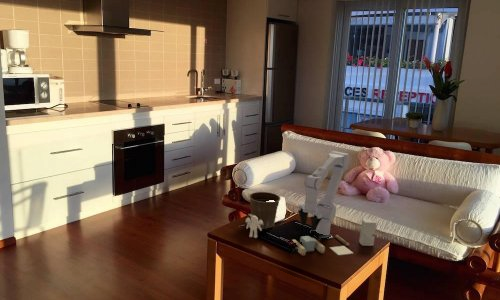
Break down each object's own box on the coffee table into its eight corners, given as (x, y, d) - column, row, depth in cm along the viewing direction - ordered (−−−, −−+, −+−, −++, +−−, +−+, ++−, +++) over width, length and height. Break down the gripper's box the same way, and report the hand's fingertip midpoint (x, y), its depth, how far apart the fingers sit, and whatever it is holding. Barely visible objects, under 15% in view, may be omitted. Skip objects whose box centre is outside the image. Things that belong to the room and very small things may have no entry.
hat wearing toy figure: (243, 236, 220) (245, 213, 217) (245, 233, 223) (247, 211, 221) (261, 239, 217) (262, 216, 215) (263, 236, 221) (264, 213, 218)
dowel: (334, 237, 226) (334, 234, 225) (336, 237, 226) (337, 234, 226) (346, 246, 215) (347, 243, 215) (349, 246, 216) (350, 243, 215)
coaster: (329, 248, 212) (329, 247, 212) (343, 246, 215) (344, 245, 215) (338, 255, 205) (338, 254, 205) (353, 253, 208) (353, 252, 208)
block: (299, 246, 213) (300, 236, 212) (307, 245, 214) (308, 235, 213) (305, 251, 207) (306, 241, 206) (314, 250, 209) (314, 240, 208)
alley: (291, 245, 213) (292, 239, 212) (312, 243, 217) (313, 237, 216) (302, 255, 203) (302, 249, 202) (324, 252, 207) (325, 247, 206)
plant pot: (275, 233, 225) (277, 203, 222) (244, 229, 228) (246, 199, 225) (279, 222, 241) (282, 194, 238) (250, 218, 244) (252, 190, 241)
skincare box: (362, 245, 217) (365, 222, 215) (358, 242, 222) (361, 219, 219) (374, 245, 218) (377, 222, 216) (370, 242, 223) (373, 219, 220)
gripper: (295, 196, 214) (292, 223, 217) (314, 206, 202) (311, 234, 205) (306, 195, 218) (304, 221, 221) (326, 204, 206) (323, 231, 209)
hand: (308, 227), depth 213 cm, fingers open, 7 cm apart
